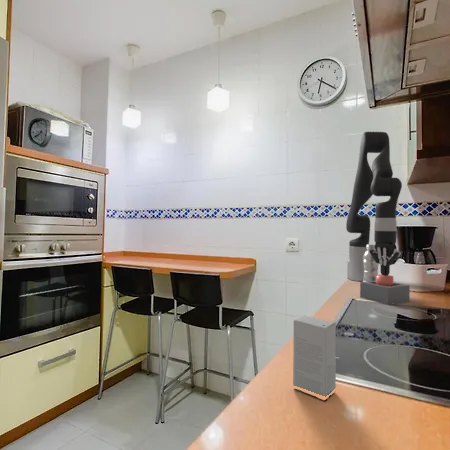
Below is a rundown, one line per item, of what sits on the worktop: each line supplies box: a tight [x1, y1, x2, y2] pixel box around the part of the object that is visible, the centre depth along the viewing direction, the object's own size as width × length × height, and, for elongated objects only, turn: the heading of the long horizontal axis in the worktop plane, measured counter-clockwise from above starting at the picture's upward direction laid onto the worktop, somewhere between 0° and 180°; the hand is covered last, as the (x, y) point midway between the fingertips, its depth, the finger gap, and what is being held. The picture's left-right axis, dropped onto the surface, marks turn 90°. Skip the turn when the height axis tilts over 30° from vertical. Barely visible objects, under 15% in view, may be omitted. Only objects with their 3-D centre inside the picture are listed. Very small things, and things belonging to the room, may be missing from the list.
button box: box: [359, 281, 411, 306], centre depth 120 cm, size 12×12×6 cm
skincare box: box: [292, 315, 337, 397], centre depth 54 cm, size 6×4×12 cm
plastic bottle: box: [362, 244, 380, 282], centre depth 132 cm, size 6×7×20 cm
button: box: [376, 274, 394, 286], centre depth 120 cm, size 6×6×5 cm
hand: (384, 275), depth 120 cm, fingers closed
